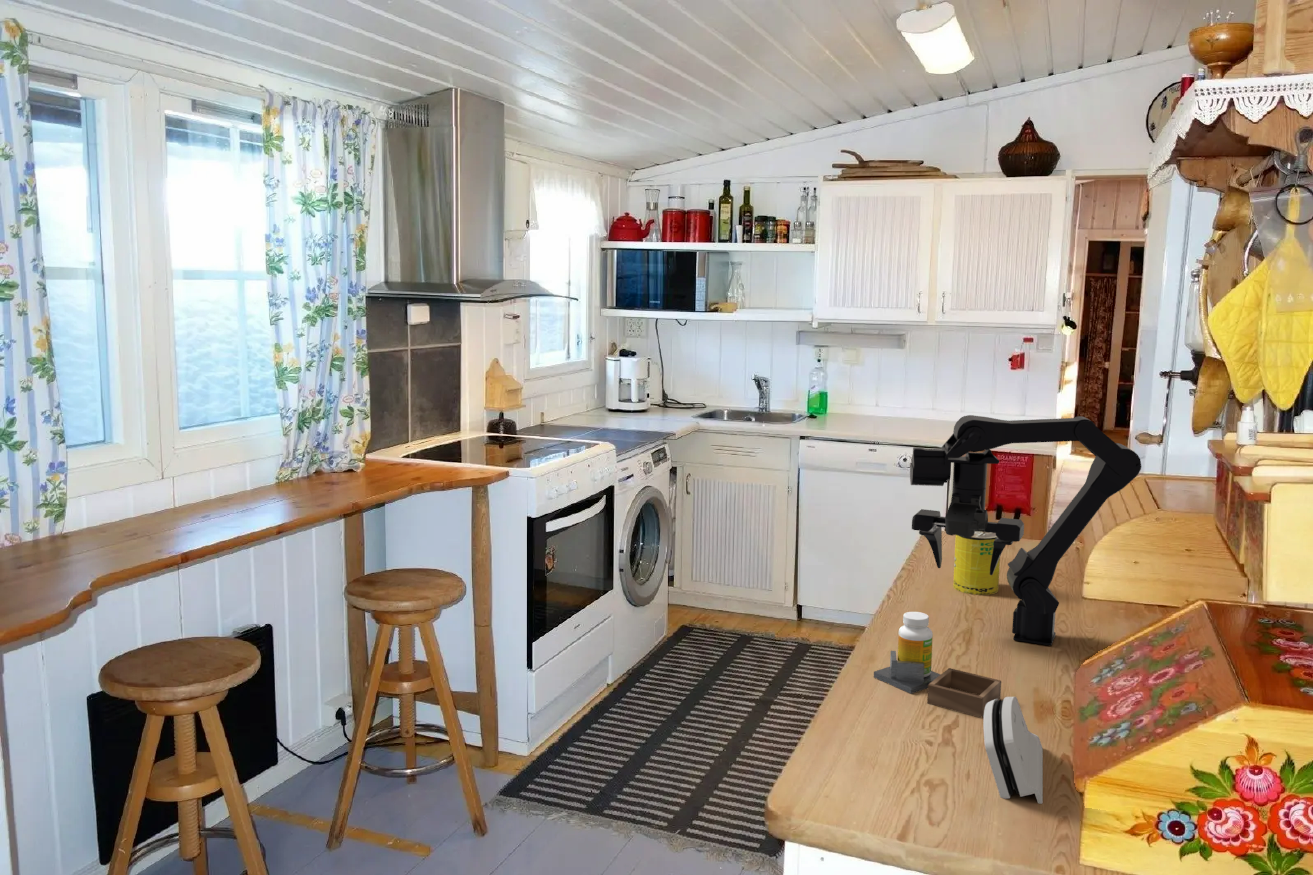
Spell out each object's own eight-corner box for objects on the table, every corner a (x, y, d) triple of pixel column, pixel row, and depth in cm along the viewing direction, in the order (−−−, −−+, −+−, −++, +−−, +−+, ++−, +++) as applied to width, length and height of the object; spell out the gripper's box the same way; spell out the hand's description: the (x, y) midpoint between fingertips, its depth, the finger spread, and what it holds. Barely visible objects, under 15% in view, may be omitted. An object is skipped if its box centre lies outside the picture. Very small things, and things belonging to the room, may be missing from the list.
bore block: (948, 685, 164) (949, 667, 163) (1000, 698, 159) (1001, 680, 158) (927, 703, 157) (927, 684, 157) (980, 717, 152) (981, 698, 152)
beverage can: (1003, 586, 215) (1006, 530, 213) (991, 597, 207) (994, 540, 205) (960, 579, 220) (962, 525, 218) (947, 590, 212) (950, 534, 210)
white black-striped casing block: (1042, 805, 128) (1017, 730, 127) (1004, 810, 129) (979, 737, 129) (1042, 746, 143) (1020, 680, 143) (1008, 752, 145) (986, 686, 144)
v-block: (907, 666, 172) (908, 643, 171) (944, 682, 165) (946, 658, 165) (873, 677, 167) (874, 654, 167) (911, 693, 161) (912, 669, 160)
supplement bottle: (926, 681, 163) (928, 623, 162) (893, 675, 166) (895, 617, 164) (934, 669, 168) (937, 613, 166) (902, 663, 170) (904, 608, 169)
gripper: (905, 490, 179) (902, 576, 182) (1016, 501, 171) (1011, 591, 173) (920, 478, 189) (917, 560, 192) (1026, 488, 181) (1021, 573, 183)
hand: (965, 571), depth 185 cm, fingers open, 9 cm apart
